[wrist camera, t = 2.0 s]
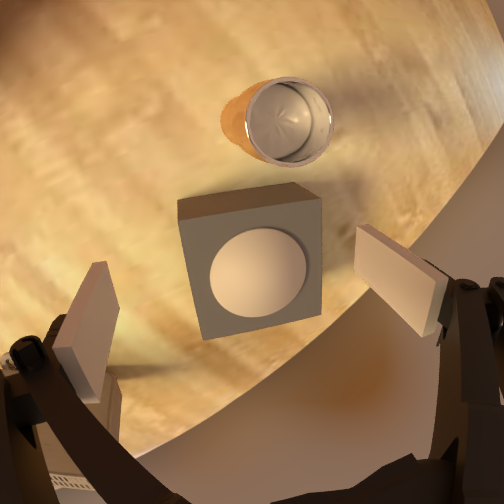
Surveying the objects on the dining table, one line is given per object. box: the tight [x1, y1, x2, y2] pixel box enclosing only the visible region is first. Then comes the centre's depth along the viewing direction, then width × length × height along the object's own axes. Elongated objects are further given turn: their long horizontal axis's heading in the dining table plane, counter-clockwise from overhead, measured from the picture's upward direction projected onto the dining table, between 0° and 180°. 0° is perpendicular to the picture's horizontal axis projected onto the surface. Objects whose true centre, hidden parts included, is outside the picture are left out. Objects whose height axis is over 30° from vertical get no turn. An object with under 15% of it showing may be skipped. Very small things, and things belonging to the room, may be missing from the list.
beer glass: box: [220, 77, 334, 167], centre depth 27 cm, size 7×7×15 cm
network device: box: [1, 352, 122, 491], centre depth 32 cm, size 26×9×20 cm, turn 89°
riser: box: [177, 183, 322, 341], centre depth 36 cm, size 14×14×8 cm
